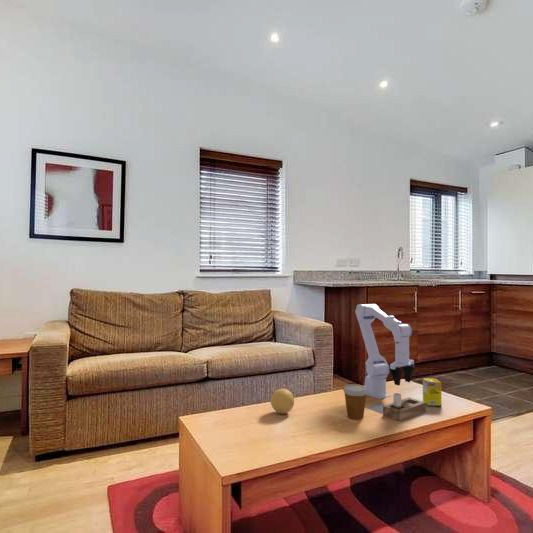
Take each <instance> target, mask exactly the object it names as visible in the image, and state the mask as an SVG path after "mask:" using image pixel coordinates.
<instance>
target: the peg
mask: <svg viewBox="0 0 533 533" xmlns="http://www.w3.org/2000/svg"><path fill="white" fill-rule="evenodd" d="M401 400H402V394H401V393H398V392H396V393H395V392H394V393H393V400H392V401H393V402H392V403H393V407H394V408H396V409H401Z"/></svg>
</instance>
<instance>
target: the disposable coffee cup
mask: <svg viewBox="0 0 533 533" xmlns="http://www.w3.org/2000/svg"><path fill="white" fill-rule="evenodd" d="M343 393H344V399H345V408H346V416H347V417H348V418H349V419H351V420H363V418H364V417H365V416H364V415H365V409H366V408H365V407H366V397H367V395H366V394H367V390H366V387H365V385H361V384H353V383H352V384H350V383H349V384H345V385H344V388H343Z"/></svg>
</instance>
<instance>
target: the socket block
mask: <svg viewBox="0 0 533 533" xmlns="http://www.w3.org/2000/svg"><path fill="white" fill-rule="evenodd" d="M425 412H427V405H426V402H423V400H420V399H416V398H413V397H405V398H401V409H396V408H394V407H393V402H391V403H389V404H385V406H383V414H382V416H384V417H387V418H390V419H392V420H395V421H398V422H403V421H404V420H407V419H411V418H413V417H415V416H418V415H420V414H422V413H425Z"/></svg>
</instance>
